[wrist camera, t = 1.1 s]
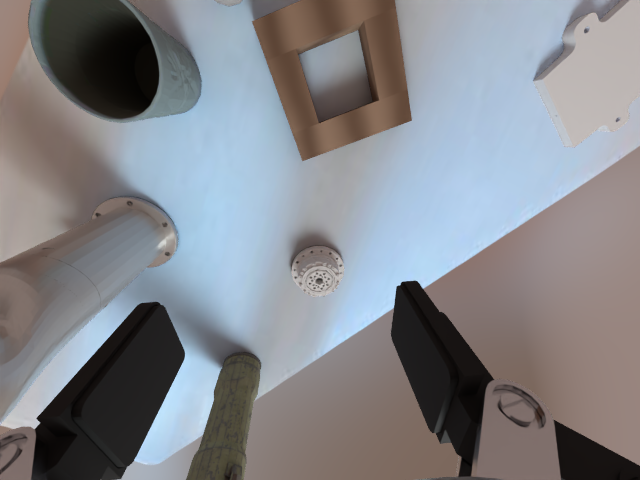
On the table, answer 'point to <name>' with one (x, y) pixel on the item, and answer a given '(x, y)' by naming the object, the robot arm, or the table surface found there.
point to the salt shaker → (229, 2)
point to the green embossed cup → (112, 59)
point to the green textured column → (228, 421)
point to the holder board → (319, 28)
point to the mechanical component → (318, 270)
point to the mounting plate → (594, 74)
